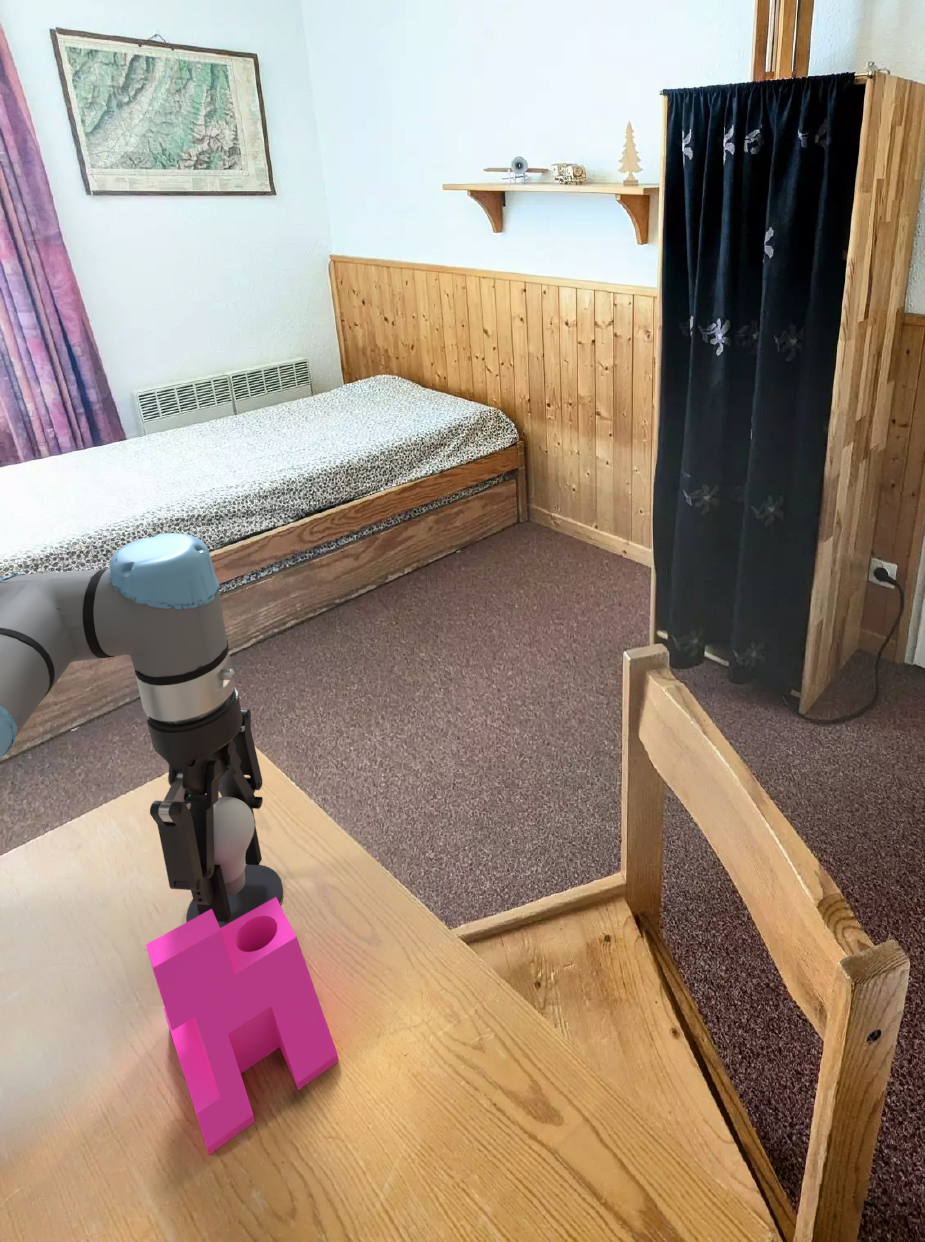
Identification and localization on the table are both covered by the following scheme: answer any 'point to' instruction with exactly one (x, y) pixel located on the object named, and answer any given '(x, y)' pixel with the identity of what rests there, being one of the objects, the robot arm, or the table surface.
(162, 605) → the robot arm
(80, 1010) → the table surface
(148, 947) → the bracket
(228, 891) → the lightbulb
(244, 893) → the coaster
